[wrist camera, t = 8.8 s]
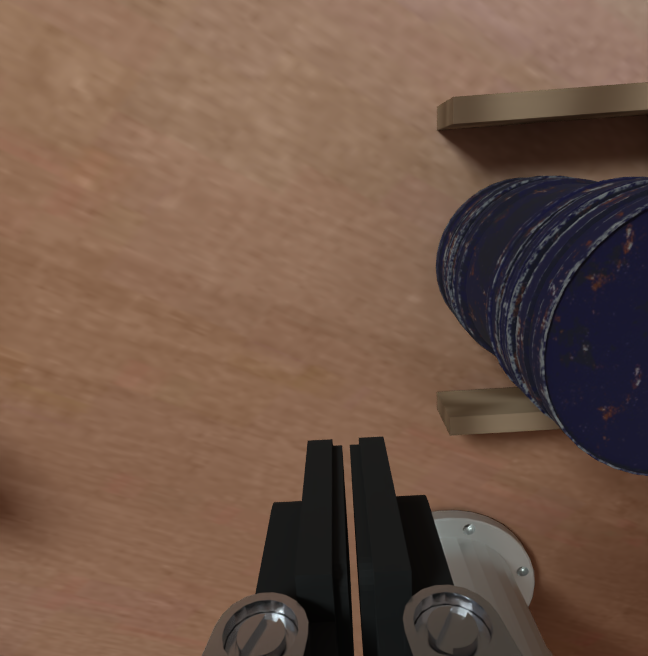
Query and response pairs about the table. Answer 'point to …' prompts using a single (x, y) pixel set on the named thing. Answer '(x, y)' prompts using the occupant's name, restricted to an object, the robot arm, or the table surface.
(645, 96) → the dock
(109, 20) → the table surface
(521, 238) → the dark blue cylinder
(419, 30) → the table surface
